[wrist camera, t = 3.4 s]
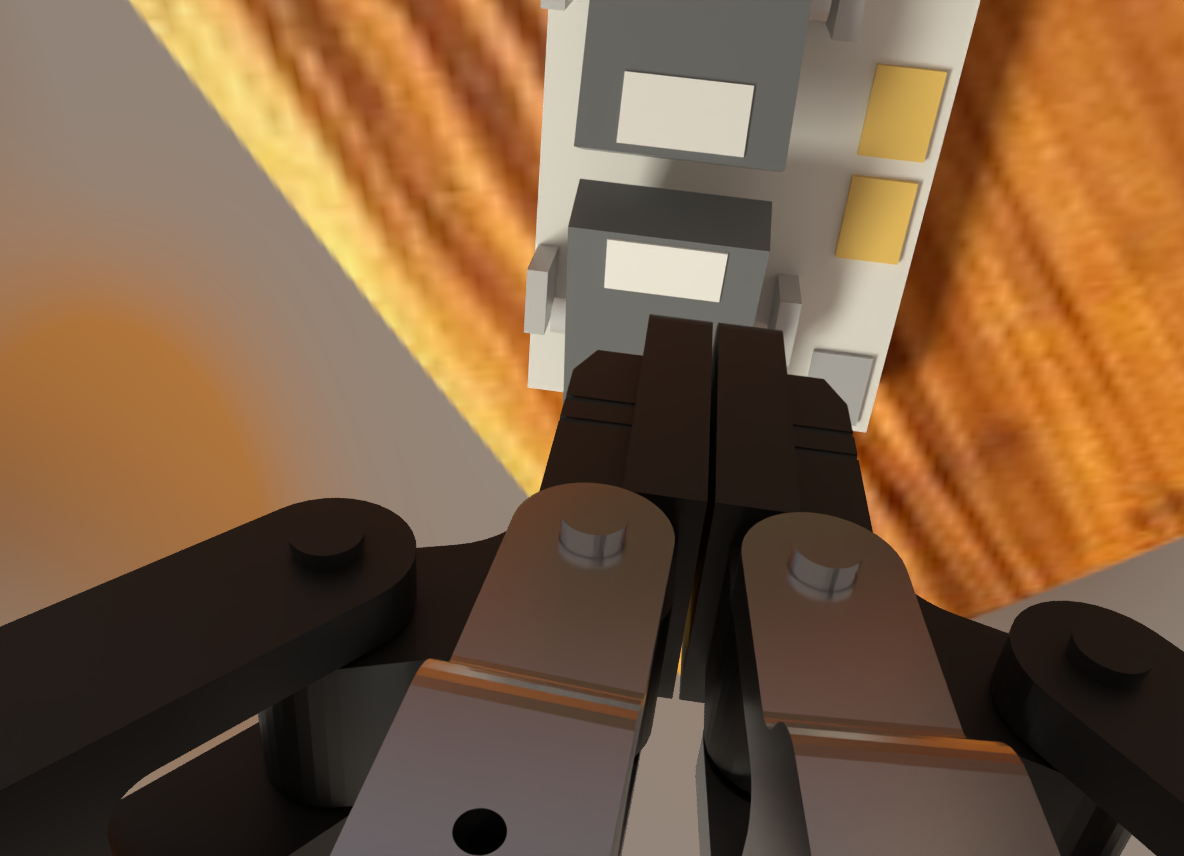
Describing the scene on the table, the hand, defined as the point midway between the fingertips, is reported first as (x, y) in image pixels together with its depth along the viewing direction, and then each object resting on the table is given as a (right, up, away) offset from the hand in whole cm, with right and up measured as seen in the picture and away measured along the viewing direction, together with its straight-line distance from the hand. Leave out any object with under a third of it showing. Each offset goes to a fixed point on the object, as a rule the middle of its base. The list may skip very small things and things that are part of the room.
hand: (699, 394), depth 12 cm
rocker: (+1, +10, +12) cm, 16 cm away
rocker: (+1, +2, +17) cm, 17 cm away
